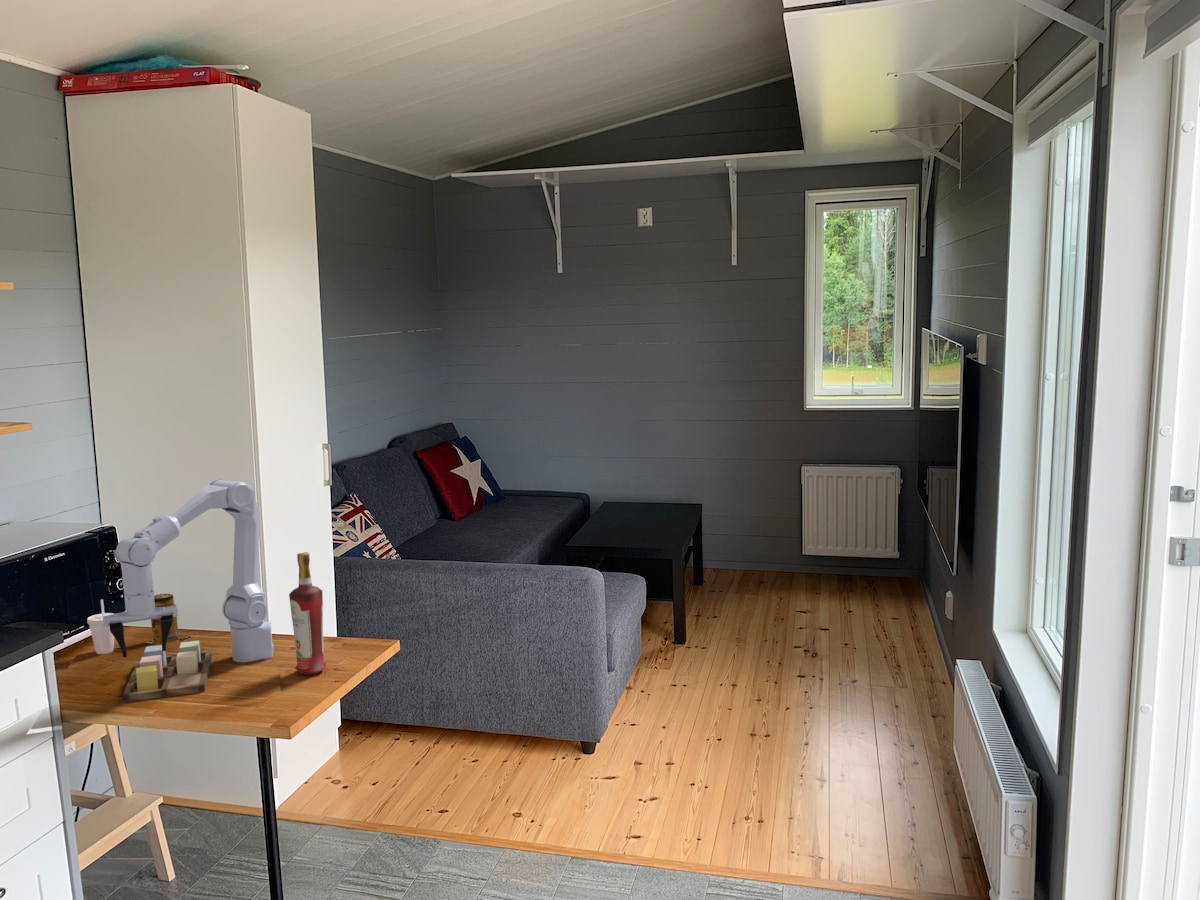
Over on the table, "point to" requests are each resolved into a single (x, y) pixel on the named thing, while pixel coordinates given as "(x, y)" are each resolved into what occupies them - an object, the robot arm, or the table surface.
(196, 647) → the sage block
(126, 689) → the block tray
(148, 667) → the mustard block
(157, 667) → the rose block
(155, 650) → the blue block
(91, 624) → the smoothie
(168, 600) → the condiment
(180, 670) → the cream block
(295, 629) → the liquor
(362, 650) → the table surface
